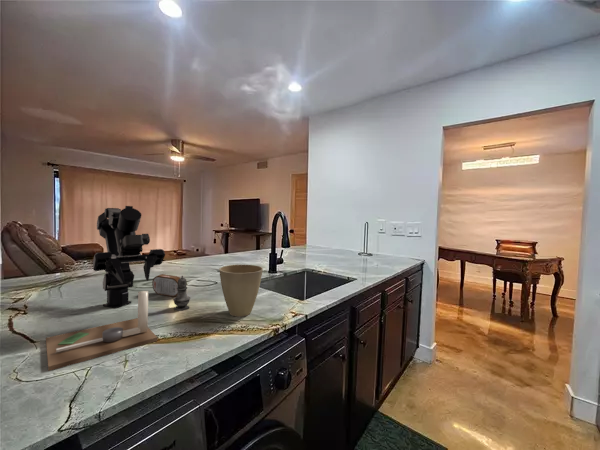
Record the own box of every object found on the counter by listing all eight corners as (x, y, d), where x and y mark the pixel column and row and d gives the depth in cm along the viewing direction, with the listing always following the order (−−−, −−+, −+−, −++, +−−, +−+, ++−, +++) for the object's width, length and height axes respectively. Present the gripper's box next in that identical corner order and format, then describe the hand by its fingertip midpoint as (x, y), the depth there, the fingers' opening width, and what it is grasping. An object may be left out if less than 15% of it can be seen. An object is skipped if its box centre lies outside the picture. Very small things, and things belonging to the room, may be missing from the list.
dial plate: (138, 320, 86) (139, 317, 86) (157, 340, 73) (157, 336, 73) (45, 341, 70) (45, 336, 70) (48, 371, 58) (48, 365, 58)
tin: (184, 296, 112) (185, 276, 112) (179, 298, 109) (179, 278, 109) (156, 292, 117) (157, 272, 117) (150, 294, 114) (150, 274, 114)
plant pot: (210, 312, 95) (211, 267, 94) (245, 303, 106) (246, 263, 105) (234, 325, 85) (235, 274, 84) (270, 313, 96) (271, 269, 95)
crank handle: (145, 327, 78) (145, 289, 78) (149, 332, 75) (150, 293, 74) (55, 348, 65) (55, 303, 64) (56, 355, 61) (57, 308, 61)
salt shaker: (183, 311, 95) (184, 277, 94) (169, 310, 96) (169, 276, 96) (193, 306, 100) (194, 274, 100) (179, 304, 102) (180, 273, 101)
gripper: (94, 225, 78) (101, 269, 70) (163, 225, 91) (175, 262, 83) (90, 249, 84) (96, 292, 76) (155, 246, 97) (166, 282, 89)
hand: (135, 281), depth 81 cm, fingers open, 6 cm apart
